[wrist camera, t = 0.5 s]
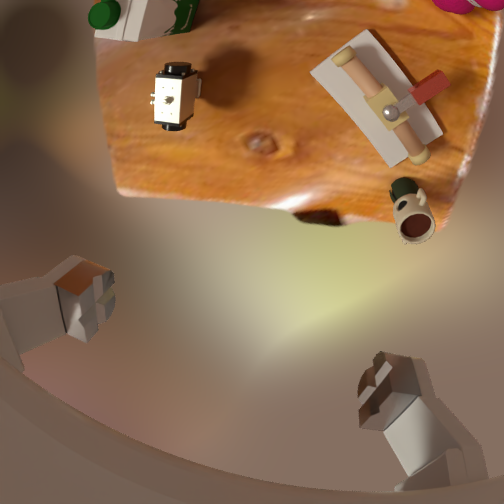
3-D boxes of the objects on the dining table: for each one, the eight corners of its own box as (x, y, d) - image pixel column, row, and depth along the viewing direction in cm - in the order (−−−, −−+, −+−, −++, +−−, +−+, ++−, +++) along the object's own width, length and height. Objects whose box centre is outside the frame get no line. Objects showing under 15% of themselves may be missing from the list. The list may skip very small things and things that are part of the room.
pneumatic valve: (208, 59, 45) (180, 68, 36) (202, 115, 53) (175, 137, 45) (180, 56, 45) (147, 66, 37) (176, 111, 54) (146, 132, 45)
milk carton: (162, -10, 36) (92, -14, 21) (206, -4, 36) (147, -13, 22) (151, 30, 42) (81, 43, 27) (193, 37, 42) (132, 49, 28)
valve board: (365, 29, 35) (373, 28, 30) (440, 131, 44) (456, 147, 38) (310, 71, 43) (307, 78, 38) (388, 164, 51) (396, 185, 46)
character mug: (395, 162, 51) (409, 197, 41) (426, 171, 50) (446, 207, 41) (380, 207, 58) (388, 248, 49) (409, 214, 57) (422, 255, 48)
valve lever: (437, 68, 31) (442, 70, 29) (446, 82, 32) (451, 85, 30) (378, 109, 38) (380, 112, 37) (388, 121, 39) (390, 125, 38)
